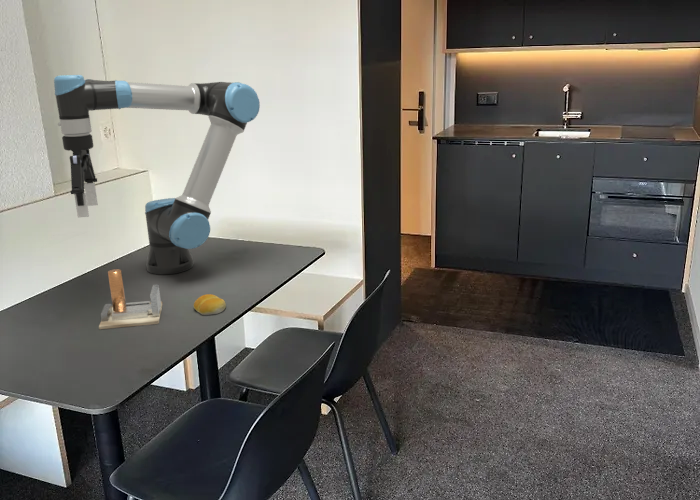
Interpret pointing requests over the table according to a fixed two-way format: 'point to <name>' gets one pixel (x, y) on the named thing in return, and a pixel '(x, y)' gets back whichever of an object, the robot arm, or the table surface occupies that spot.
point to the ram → (119, 295)
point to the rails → (126, 314)
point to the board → (130, 321)
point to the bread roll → (209, 304)
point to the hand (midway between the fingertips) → (88, 210)
